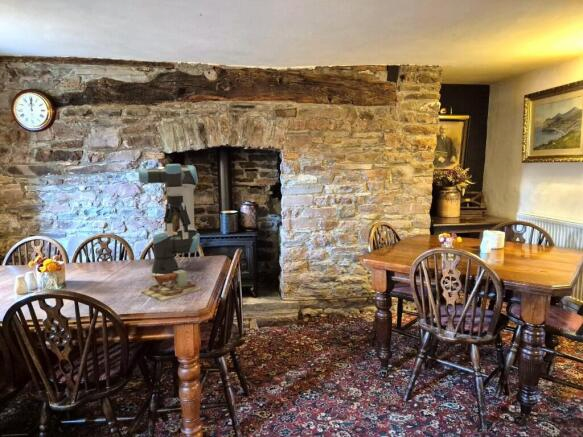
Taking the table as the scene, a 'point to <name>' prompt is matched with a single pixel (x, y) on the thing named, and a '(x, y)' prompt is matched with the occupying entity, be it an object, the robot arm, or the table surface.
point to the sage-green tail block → (181, 278)
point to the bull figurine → (164, 279)
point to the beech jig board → (170, 291)
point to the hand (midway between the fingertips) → (177, 237)
